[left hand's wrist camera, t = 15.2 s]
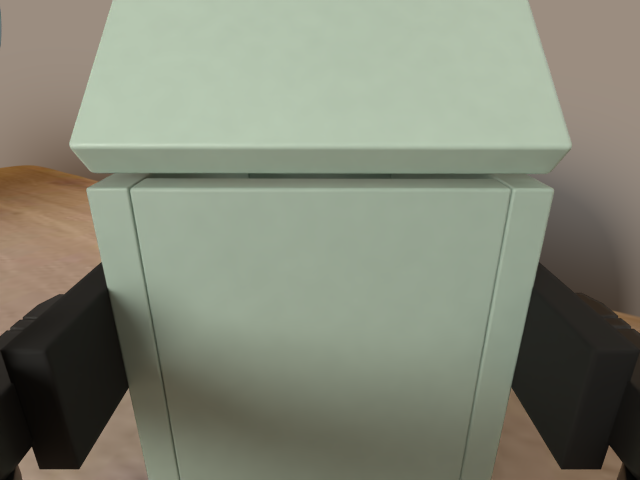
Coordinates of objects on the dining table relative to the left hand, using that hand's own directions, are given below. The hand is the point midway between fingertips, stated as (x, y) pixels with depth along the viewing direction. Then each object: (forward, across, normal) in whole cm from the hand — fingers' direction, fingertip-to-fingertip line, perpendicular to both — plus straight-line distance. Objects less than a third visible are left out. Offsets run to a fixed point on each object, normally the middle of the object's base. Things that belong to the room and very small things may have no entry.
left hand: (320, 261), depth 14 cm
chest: (+3, 0, -6) cm, 7 cm away
